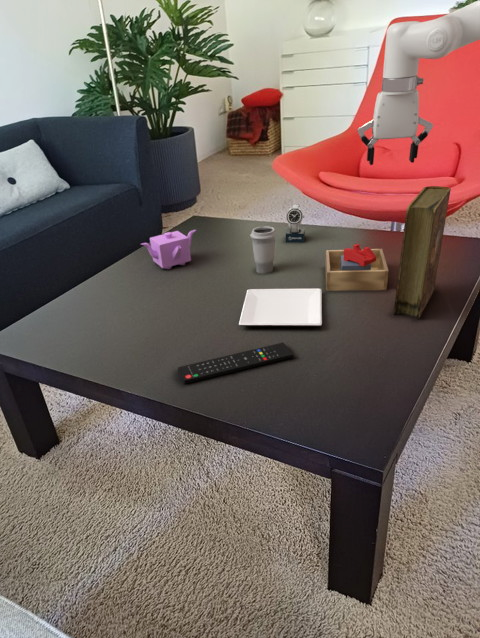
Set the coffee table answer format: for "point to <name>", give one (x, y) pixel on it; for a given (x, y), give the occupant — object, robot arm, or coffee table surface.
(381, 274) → the crate
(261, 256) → the cup
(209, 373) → the remote control
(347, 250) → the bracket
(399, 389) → the coffee table surface
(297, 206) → the watch
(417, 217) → the book
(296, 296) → the plate
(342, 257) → the grey block
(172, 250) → the teapot
